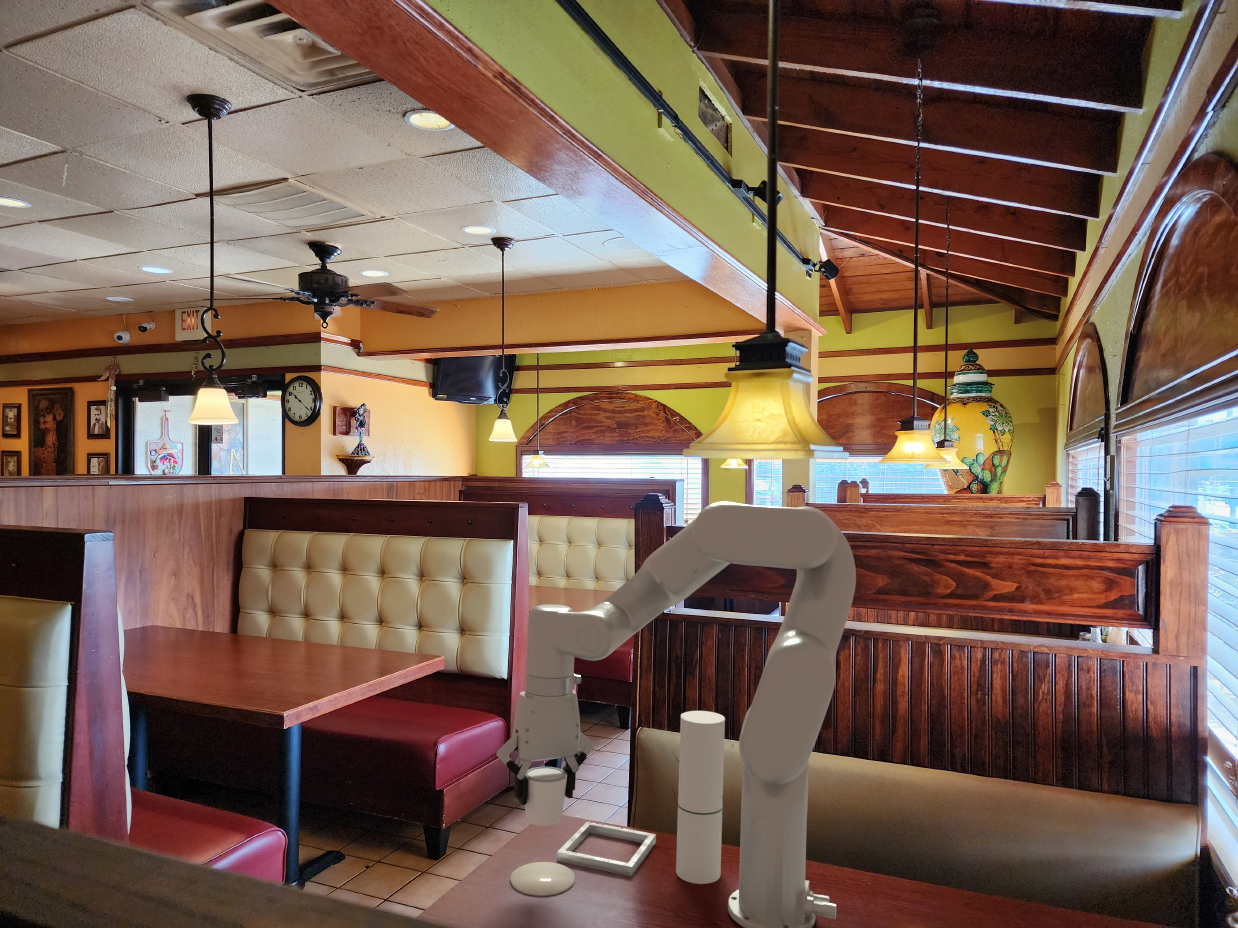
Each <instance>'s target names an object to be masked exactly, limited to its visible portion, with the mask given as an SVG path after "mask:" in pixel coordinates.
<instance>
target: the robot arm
mask: <svg viewBox="0 0 1238 928" xmlns="http://www.w3.org/2000/svg"><path fill="white" fill-rule="evenodd" d="M730 564H736V565H744V566H754V567H755V566H756V567H757V566H758V567H767V568H768V567H769V568H779V569H789V570H791V569H792V570H796V578H795V579H796V580H795V582H794V587H793V590H792V593H791V595H790V598H789V601H788V606H787V609H786V612H785V615H784V618H783V621H782V622H781V625H780V628H779V630H778V633H777V635H776V637H775V639H774V641H773V643H772V644H771V647H770V648H769V651H768V654H767V657H766V662H765V665H764V668H763V670H762V673H761V677H760V679H759V681H758V682H759V683H758V685H757V688H756V691H755V694H754V696H753V699H752V703H751V704H750V707H748V710H747V712H746V713H745V716H744V718H743V722H742V726H741V730H740V731H741V732H740V735H739V740H738V750H739V751H738V752H739V755H740V760H741V762H742V781H741V783H742V784H741V807H740V808H741V809H740V811H741V812H740V839H739V840H740V841H739V843H740V844H739V874H738V875H739V876H738V877H739V880H738V889H736V890H735V891H734V892H732V893H731V894H730V896H729V897H728V900H727V910H728V914H729V915H730V917H731V918H732V920H733V921H735V923H736V924H738V925H739V926H741V927H743V928H813V927H814V926H815V922H816V915H817V916H822V918H823V917H824V918H829V919H833V920H836V918H837V904H836V903H832V902H830V896H829V895H824V894H816V893H814V891H813V890H810V880H806V869H807V868H806V866H807V865H806V862H807V857H806V855H807V829H808V827H807V826H808V825H807V823H808V821H807V819H808V804H809V803H808V801H809V800H808V797H809V760H810V757H811V755H812V752H813V749H814V747H815V745H816V741H817V739H818V736H819V733H820V731H821V729H822V725H823V722H824V720H825V717H826V714H827V710H828V708H829V705H830V702H831V699H832V697H833V693H834V690H835V685H836V679H837V678H836V677H837V676H836V675H837V674H836V673H837V671H836V662H835V661H836V654H837V652H838V648H839V645H840V642H841V640H842V636H843V633H844V630H845V626H846V624H847V622H848V621H847V620H848V618H849V617H848V616H849V614H850V611H851V608H852V604H853V600H854V597H855V592H856V584H857V571H856V570H857V569H856V563H855V558H854V554H853V551H852V548H851V545H850V543H849V541H848V540H847V537H846V536H845V535H844V533H843V532H842V531H841V529H840V528H839V527H838V526H837V524H836V523H835V522H834V521H833V520H832V519H831V518H830V517H829V516H828V515H827V514H826V513H825V512H823V511H822V510H821V509H818V508H815V507H813V506H806V505H805V506H799V507H788V506H769V505H757V504H756V505H755V504H746V503H745V504H744V503H738V502H736V501H731V500H721V501H716V502H713V503H710V504H708V505H707V506H705V507H704V508H702V510H700V512H699V513H698V515H697V516H696V518H695V519H693V520H692V521H691V522H690V523H688V524H687V525H686V526H685V527H683V529H681V530H680V531H679V532H677V533H676V534H675V535H674V536H673V537H671V538H670V539H669V540H667V541H666V542H665V543H664V544H662V545H661V546H659V547H658V548H657V549H656V550H655V551H653V552H652V553H651V554H650V555H648V556H647V558H646V559H645V560H644V562H643V563H642V565H641V566H640V568H639V569H638V571H636V573H635V574H634V575H632V577H631V578H629V579H628V580H627V581H626V582H625V583H623V584H622V585H620V586H619V588H617V589H616V590H615V591H613V592H612V593H610V595H608V596H607V597H606V598H604V599H603V600H602V601H600V603H598V604H596V605H595V606H592V607H591V608H589V609H586V610H583V611H575V610H574V609H573V608H572V607H571V606H568V605H563V604H551V603H549V604H548V603H547V604H546V603H545V604H538V605H536V606H533V607H532V608H531V609H530V611H529V612H528V616H527V635H526V636H527V641H526V642H527V643H526V660H525V661H526V664H525V688H524V689H525V690H524V691H520V693H519V695H518V699H517V703H516V708H515V715H514V720H513V726H512V736H511V737H510V738H509V739H507V741H506V742H505V743H504V744H503V745H502V746H501V747H500V748H499V749H498V750H497V751H496V753H495V754H496V756H497V757H498V758H499V759H500V761H501V762H502V763H503V764H504V765H505V766H506V768H507V769H508V770H509V771H510V772H511V773H513V775H514V788H513V789H514V791H513V792H514V793H513V794H514V797H515V798H516V799H517V800H518V802H519V803H520V804H521V805H522V806H525V805H526V804H527V798H528V779H527V778H526V773H527V771H528V770H529V769H530V766H531V765H532V763H533V762H539V761H548V760H555V759H563V761H564V763H565V765H564V766H563V768H561V769H562V770H564V771H565V772H566V773H567V782H566V789H565V797H566V798H567V799H573V797H574V795H573V794H574V791H575V790H576V778H577V776H576V775H577V773H578V772H579V769H580V766H582V764H583V763H584V762H585V760H587V757H588V755H589V754H590V753H591V752H592V751H593V749H594V748H595V745H596V743H595V742H594V741H593V740H592V739H590V738H589V737H588V736H587V735H586V734H584V733H583V732H582V730H581V721H580V718H581V717H580V709H579V702H578V701H579V700H578V694H577V692H576V691H575V685H577V684H581V682H582V676H581V675H580V674H575V673H574V671H575V658H578V659H581V660H586V661H599V660H603V659H605V658H607V657H609V655H611V654H612V653H613V652H614V651H615V650H617V649H618V648H619V647H621V646H622V645H623V644H624V643H625V642H627V641H628V640H629V639H630V638H631V637H632V636H634V635H635V634H637V633H638V632H639V631H640V630H642V629H643V628H644V627H645V626H647V625H648V624H649V623H651V622H652V621H653V620H654V619H656V618H657V617H658V616H660V615H661V614H663V612H665V611H666V610H668V609H670V608H671V607H673V606H676V605H679V604H680V603H682V602H683V601H684V600H686V599H687V598H688V597H689V596H690V595H692V594H694V593H695V591H697V590H698V589H700V588H701V587H702V586H703V585H704V584H706V583H707V582H708V581H709V580H711V579H712V578H713V577H715V576H716V575H717V574H719V573H720V572H721V571H722V570H724V569H725V568H726V567H728V565H730ZM512 752H513V753H516V754H518V757H517V758H516V760H515V761H514V760H513V759H512V758H511V757H510V754H512Z"/></svg>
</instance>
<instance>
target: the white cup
mask: <svg viewBox="0 0 1238 928" xmlns="http://www.w3.org/2000/svg"><path fill="white" fill-rule="evenodd" d="M562 769H563V768H558V767H553V766H538V767H531V768H529V769H528V771H527V773H526V778H527V779H528V798H527V804H526V805H524V807H525V808H524V809H525V812H524V813H525V821H526V822H528V823H529V824H530V825H534V826H537V827H538V826H540V827H549V826H554V825H557V824H558V823H560V822H561V820H562V817H563V811H564V804H565V797H566V796H565V789H566V782H567V773H566V772H565V771H564V770H562Z"/></svg>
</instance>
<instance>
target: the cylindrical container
mask: <svg viewBox="0 0 1238 928" xmlns="http://www.w3.org/2000/svg"><path fill="white" fill-rule="evenodd" d="M725 723H726V718H725V716H724V715H723V714H720V713H717V712H714V711H707V710H690V711H685V712H682V713H681V714H680V727H679V728H680V731H679V760H678V761H679V764H678V788H677V789H678V791H677V792H678V795H677V796H678V797H677V826H676V827H677V828H676V831H677V833H676V865H675V873H676V875H677V877H679V878H680V879H681V880H683V881H685V882H688V883H691V884H697V885H705V884H711V883H714V882H716V881H719V879H720V878H721V870H722V869H721V867H722V865H721V864H722V862H721V861H722V836H723V834H722V831H723V803H724V801H723V799H724V798H723V797H724V796H723V795H724V765H725V764H724V762H725V733H726V731H725V726H726V725H725Z"/></svg>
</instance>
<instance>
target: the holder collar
mask: <svg viewBox="0 0 1238 928" xmlns="http://www.w3.org/2000/svg"><path fill="white" fill-rule="evenodd" d="M596 823H597V822H592V823H591V821H585V823H584V824H583V825H582V826H581V827H580V828H579V829H578V830H577V831H575V833H574V834H573V835H572V836H571V837H570V838H569V839H568V840H567V841H566V842H565V843H564V844H563V845H562V846H561V847H560V848H559V849H558V850H557V851H556V861H557V862H560V863H565V864H568V865H575V866H577V867H583V868H589V869H593V870H598V871H603V872H608V873H613V874H618V875H621V876H627V877H633V876H634V874H635V873H636V871H637V870H638V868H640V866H641V864H642V863H643V861H644V860H645V859H646V857H647V856H648V854H649V853H650V852H651V850H652V849H653V847H654V846H655V845H656V843H657V834H656V833H650V832H647V831H646V832H645V831H640V830H635V829H630V828H624V827H619V826H613V825H607V824H603V825H602V823H598V824H596ZM621 828H623V829H621ZM589 834H591V835H597V836H604V837H609V838H615V839H617V840H618V839H619V840H623V841H630V842H634V843H638V844H639V843H640V844H641V845H640V846H639V848H638V849H637V851H636V852H635V853H634V855H632V857H631V858H630V860H629V861H628V862H624V861H619V860H616V859H615V860H614V859H609V858H604V857H601V856H594V855H590V854H584V853H581V852H580V853H579V852H574V851H575V849H577V848H578V846H579V845H580V844H581V843H582V842H583V841H584V840H585V839H586V837H588V835H589Z"/></svg>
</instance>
